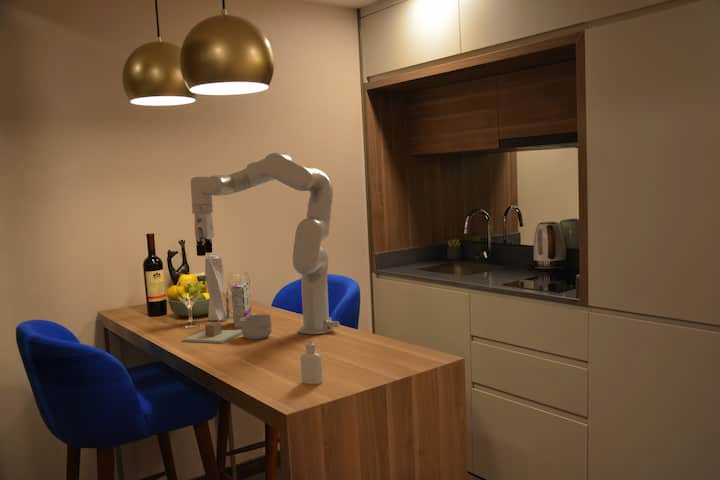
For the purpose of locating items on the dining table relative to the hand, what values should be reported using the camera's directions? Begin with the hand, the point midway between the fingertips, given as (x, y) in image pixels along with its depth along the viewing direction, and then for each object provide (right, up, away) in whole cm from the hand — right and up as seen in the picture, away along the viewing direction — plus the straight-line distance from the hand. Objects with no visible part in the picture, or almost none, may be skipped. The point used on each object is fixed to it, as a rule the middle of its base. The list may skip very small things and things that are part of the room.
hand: (204, 254), depth 242 cm
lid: (+6, -30, -14) cm, 33 cm away
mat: (+6, -30, -13) cm, 34 cm away
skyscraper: (+1, -28, +19) cm, 33 cm away
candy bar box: (+13, -28, +5) cm, 32 cm away
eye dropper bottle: (+46, -34, -68) cm, 89 cm away
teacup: (+23, -30, -14) cm, 40 cm away
